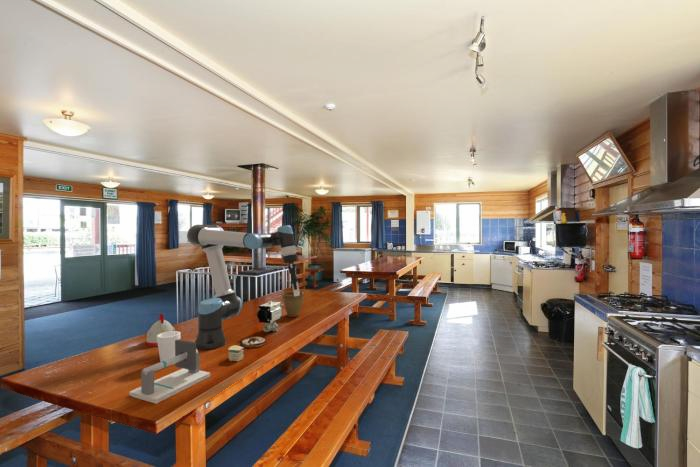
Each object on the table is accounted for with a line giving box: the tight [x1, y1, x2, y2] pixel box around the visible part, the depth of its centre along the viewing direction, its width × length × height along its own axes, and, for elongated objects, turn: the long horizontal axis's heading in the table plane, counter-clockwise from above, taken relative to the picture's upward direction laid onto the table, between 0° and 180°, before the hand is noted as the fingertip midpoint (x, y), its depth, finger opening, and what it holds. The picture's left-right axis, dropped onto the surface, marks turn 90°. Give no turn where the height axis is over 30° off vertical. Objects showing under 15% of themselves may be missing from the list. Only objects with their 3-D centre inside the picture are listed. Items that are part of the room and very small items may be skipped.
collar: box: [174, 339, 197, 370], centre depth 136 cm, size 10×2×11 cm, turn 66°
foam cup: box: [157, 330, 182, 366], centre depth 152 cm, size 10×9×13 cm
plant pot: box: [282, 291, 304, 318], centre depth 238 cm, size 15×15×16 cm
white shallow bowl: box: [241, 336, 267, 349], centre depth 178 cm, size 15×15×4 cm
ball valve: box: [256, 300, 283, 333], centre depth 201 cm, size 18×8×18 cm, turn 163°
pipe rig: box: [128, 348, 211, 405], centre depth 130 cm, size 14×24×11 cm, turn 156°
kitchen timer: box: [145, 313, 176, 347], centre depth 182 cm, size 14×14×15 cm
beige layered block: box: [227, 344, 245, 362], centre depth 157 cm, size 10×9×6 cm
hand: (297, 294), depth 176 cm, fingers open, 13 cm apart
